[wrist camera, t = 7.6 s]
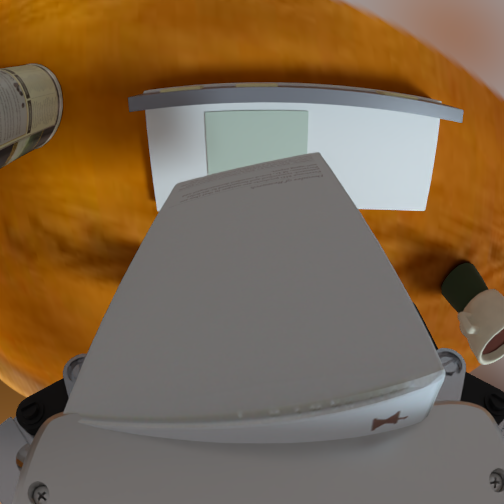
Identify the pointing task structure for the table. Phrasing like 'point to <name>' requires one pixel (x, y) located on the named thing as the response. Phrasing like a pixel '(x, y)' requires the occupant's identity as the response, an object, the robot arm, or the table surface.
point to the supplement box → (259, 319)
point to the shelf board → (298, 144)
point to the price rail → (292, 98)
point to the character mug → (477, 312)
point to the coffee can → (27, 109)
